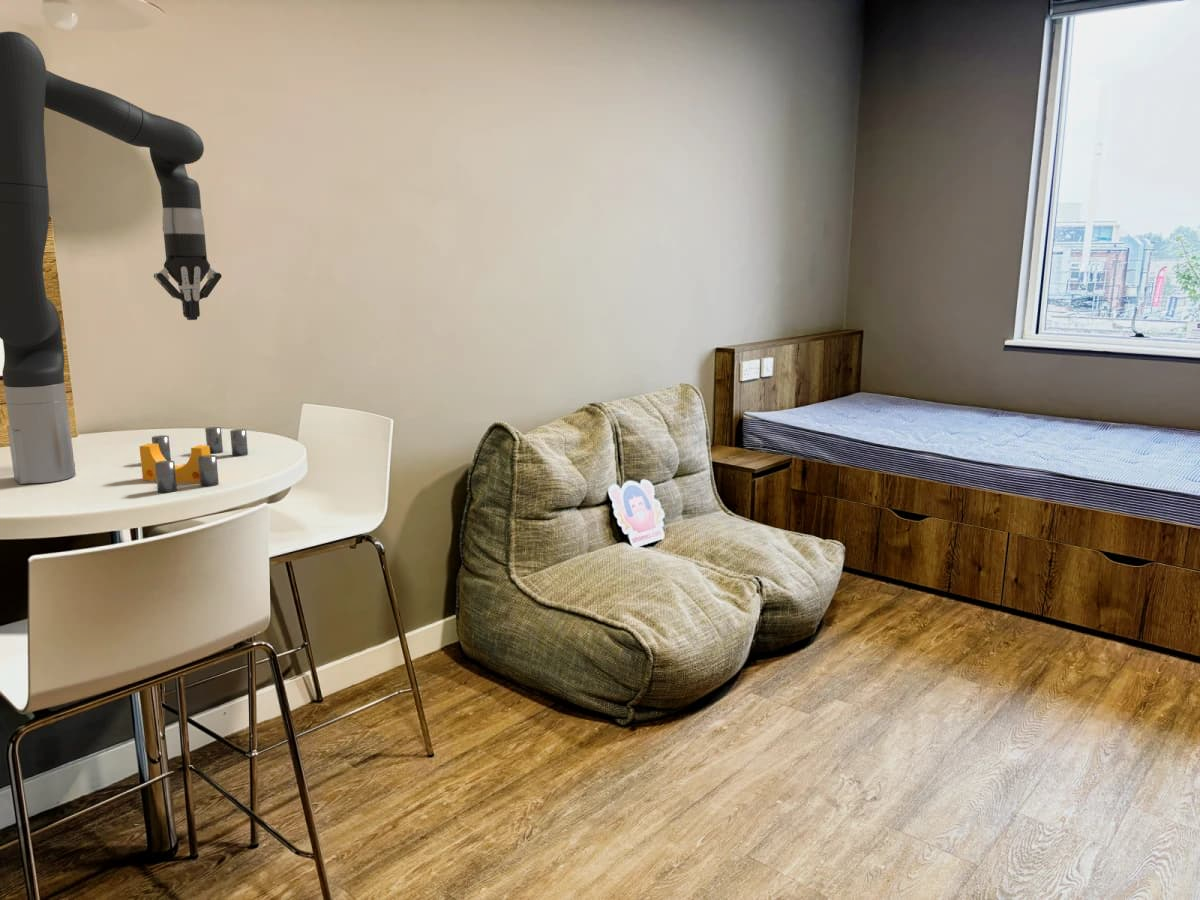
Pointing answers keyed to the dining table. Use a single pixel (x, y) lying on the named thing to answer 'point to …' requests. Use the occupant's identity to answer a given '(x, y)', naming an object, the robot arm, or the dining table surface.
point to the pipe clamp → (183, 472)
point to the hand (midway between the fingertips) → (192, 319)
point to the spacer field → (206, 462)
